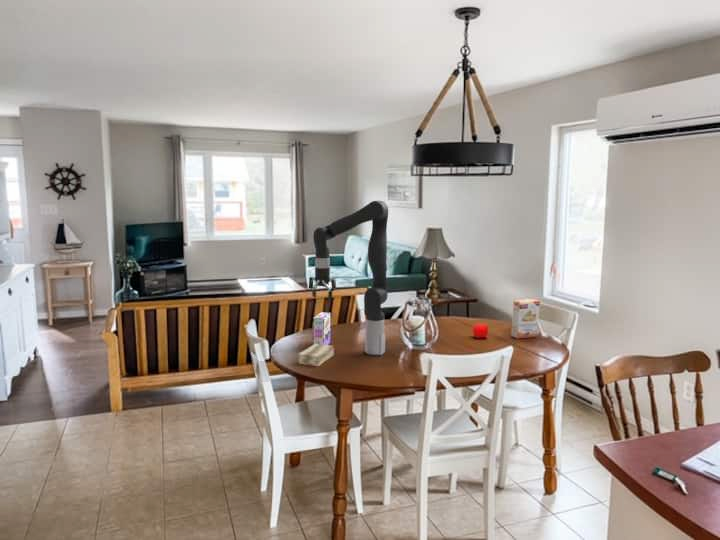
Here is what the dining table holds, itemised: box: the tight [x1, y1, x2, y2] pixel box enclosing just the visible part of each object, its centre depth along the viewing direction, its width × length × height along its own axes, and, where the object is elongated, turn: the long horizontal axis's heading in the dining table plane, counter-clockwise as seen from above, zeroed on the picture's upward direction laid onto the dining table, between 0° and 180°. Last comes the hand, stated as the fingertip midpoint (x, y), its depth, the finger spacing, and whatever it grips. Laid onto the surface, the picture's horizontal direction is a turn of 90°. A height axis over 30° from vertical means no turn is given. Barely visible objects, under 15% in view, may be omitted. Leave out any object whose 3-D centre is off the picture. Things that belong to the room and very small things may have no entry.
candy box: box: [312, 311, 331, 345], centre depth 267 cm, size 14×6×16 cm, turn 168°
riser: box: [297, 344, 335, 367], centre depth 246 cm, size 10×18×5 cm, turn 160°
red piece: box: [472, 323, 489, 339], centre depth 288 cm, size 8×8×8 cm
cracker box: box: [510, 298, 541, 340], centre depth 290 cm, size 14×6×21 cm, turn 111°
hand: (322, 297), depth 265 cm, fingers open, 8 cm apart
